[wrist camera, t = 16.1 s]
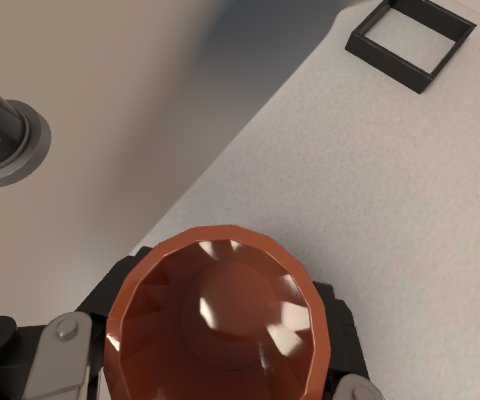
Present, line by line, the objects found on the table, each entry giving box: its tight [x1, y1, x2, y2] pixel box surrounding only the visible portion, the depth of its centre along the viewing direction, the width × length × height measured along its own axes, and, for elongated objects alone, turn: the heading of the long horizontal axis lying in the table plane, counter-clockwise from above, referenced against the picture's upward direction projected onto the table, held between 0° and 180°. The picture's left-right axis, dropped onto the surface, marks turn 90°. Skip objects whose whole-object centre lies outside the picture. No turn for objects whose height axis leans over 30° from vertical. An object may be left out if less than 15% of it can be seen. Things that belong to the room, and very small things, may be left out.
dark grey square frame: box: [345, 0, 477, 94], centre depth 36 cm, size 12×12×2 cm
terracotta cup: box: [103, 225, 331, 400], centre depth 11 cm, size 6×6×8 cm
